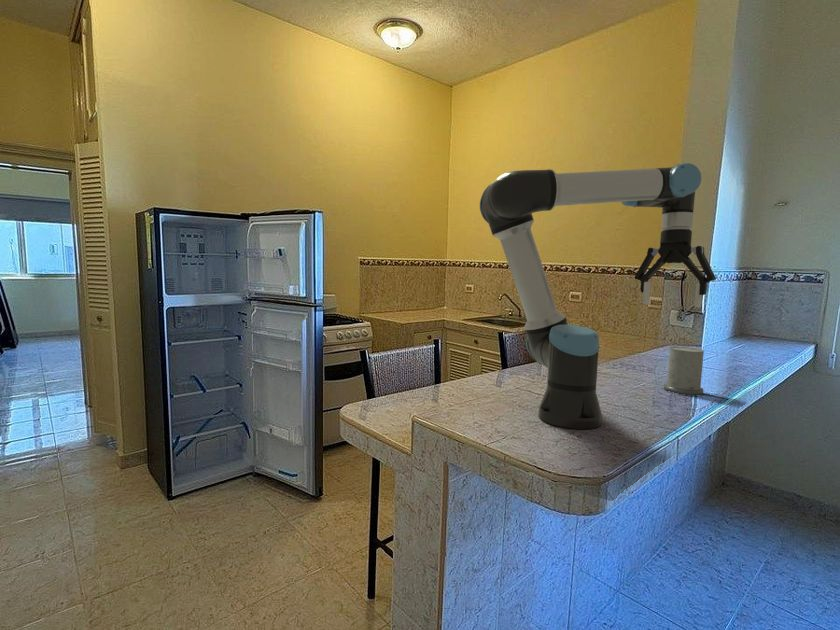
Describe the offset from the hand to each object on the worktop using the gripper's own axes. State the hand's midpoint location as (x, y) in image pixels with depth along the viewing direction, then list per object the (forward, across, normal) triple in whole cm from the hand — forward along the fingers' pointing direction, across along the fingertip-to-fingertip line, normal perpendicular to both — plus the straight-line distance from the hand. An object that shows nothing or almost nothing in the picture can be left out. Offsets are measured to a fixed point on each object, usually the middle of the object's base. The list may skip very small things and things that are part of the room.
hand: (670, 305), depth 123 cm
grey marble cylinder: (+27, +3, -22) cm, 35 cm away
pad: (+29, +3, -22) cm, 37 cm away
